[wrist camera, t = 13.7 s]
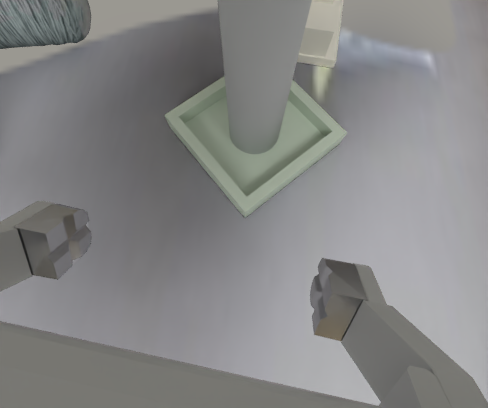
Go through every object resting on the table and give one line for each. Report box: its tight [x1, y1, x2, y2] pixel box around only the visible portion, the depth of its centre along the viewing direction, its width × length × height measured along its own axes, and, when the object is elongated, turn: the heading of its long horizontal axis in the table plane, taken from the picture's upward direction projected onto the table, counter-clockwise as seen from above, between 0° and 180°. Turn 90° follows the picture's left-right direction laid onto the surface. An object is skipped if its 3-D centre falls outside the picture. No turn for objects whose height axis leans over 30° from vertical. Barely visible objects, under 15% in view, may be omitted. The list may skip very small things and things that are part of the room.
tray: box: [164, 76, 347, 218], centre depth 21 cm, size 10×10×2 cm
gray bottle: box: [218, 0, 312, 154], centre depth 15 cm, size 4×4×14 cm
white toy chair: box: [297, 0, 344, 68], centre depth 24 cm, size 8×11×3 cm
